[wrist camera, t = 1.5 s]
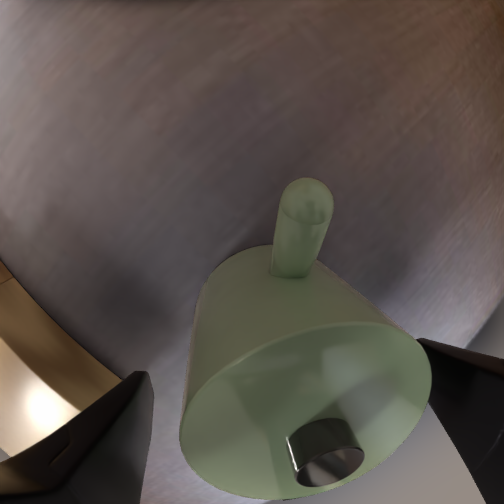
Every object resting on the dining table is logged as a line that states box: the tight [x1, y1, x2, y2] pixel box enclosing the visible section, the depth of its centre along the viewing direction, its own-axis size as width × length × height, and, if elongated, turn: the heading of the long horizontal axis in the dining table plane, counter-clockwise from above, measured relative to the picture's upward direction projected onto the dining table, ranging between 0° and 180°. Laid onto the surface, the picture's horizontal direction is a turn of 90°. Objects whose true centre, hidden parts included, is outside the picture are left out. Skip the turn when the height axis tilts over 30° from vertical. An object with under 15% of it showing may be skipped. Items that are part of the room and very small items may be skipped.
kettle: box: [179, 177, 432, 500], centre depth 9 cm, size 10×6×8 cm, turn 1°
